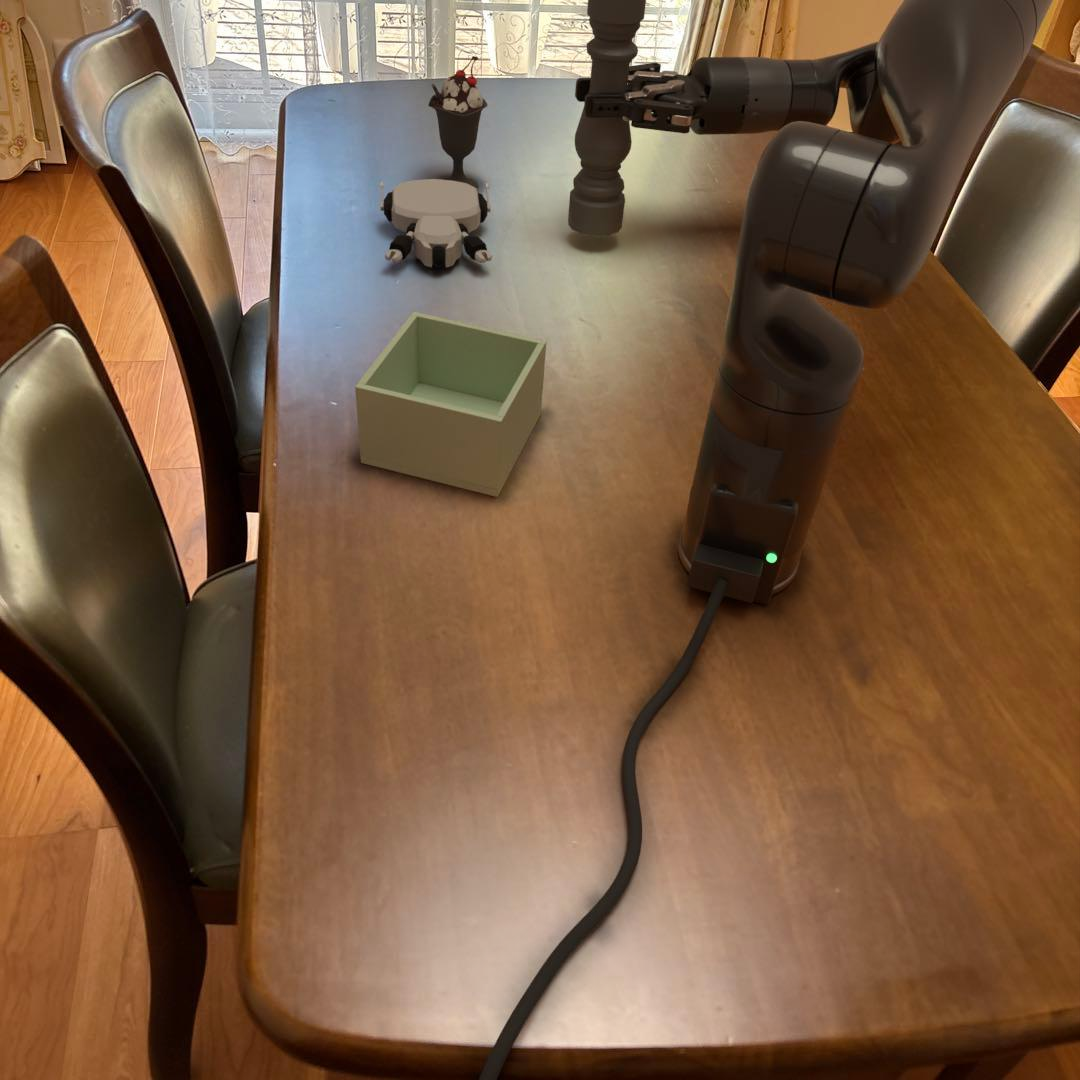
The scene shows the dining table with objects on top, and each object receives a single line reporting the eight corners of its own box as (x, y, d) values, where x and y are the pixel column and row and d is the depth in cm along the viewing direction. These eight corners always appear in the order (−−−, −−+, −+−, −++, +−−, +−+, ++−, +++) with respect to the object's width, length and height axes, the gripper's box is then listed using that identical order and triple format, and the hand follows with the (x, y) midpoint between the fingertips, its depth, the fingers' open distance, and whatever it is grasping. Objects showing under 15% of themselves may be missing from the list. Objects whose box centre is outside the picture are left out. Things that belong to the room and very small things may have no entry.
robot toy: (496, 284, 110) (487, 210, 120) (497, 247, 107) (488, 175, 117) (381, 284, 109) (381, 209, 119) (379, 246, 106) (379, 173, 115)
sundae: (495, 184, 126) (500, 56, 116) (464, 202, 122) (465, 72, 112) (452, 169, 129) (452, 43, 118) (420, 187, 124) (417, 58, 114)
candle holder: (617, 240, 113) (646, -8, 96) (563, 231, 114) (581, -16, 97) (625, 215, 117) (654, -25, 100) (572, 208, 118) (592, -32, 101)
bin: (497, 497, 84) (501, 421, 79) (360, 463, 86) (354, 386, 81) (540, 414, 93) (546, 340, 87) (415, 384, 95) (413, 311, 89)
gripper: (723, 36, 111) (569, 36, 108) (768, 83, 101) (599, 85, 98) (711, 106, 116) (563, 108, 113) (753, 158, 106) (592, 162, 103)
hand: (581, 97), depth 105 cm, fingers closed on candle holder, 3 cm apart
